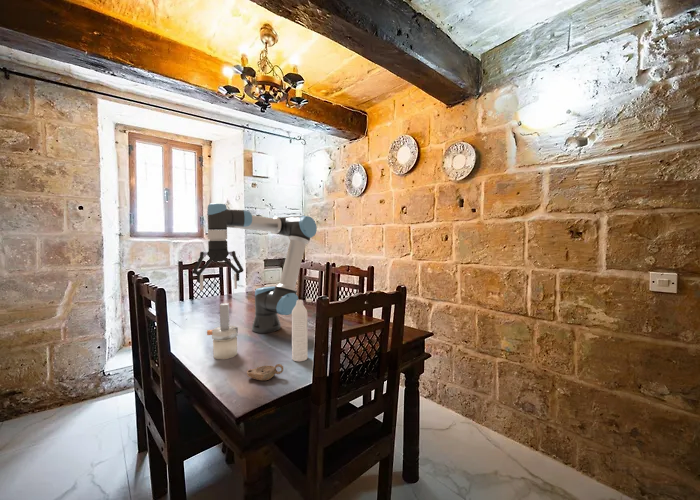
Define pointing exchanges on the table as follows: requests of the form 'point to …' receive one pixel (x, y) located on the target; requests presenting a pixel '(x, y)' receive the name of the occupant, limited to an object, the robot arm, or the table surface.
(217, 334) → the lid
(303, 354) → the water bottle
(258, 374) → the oil lamp
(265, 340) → the table surface
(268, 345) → the table surface
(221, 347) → the jar
